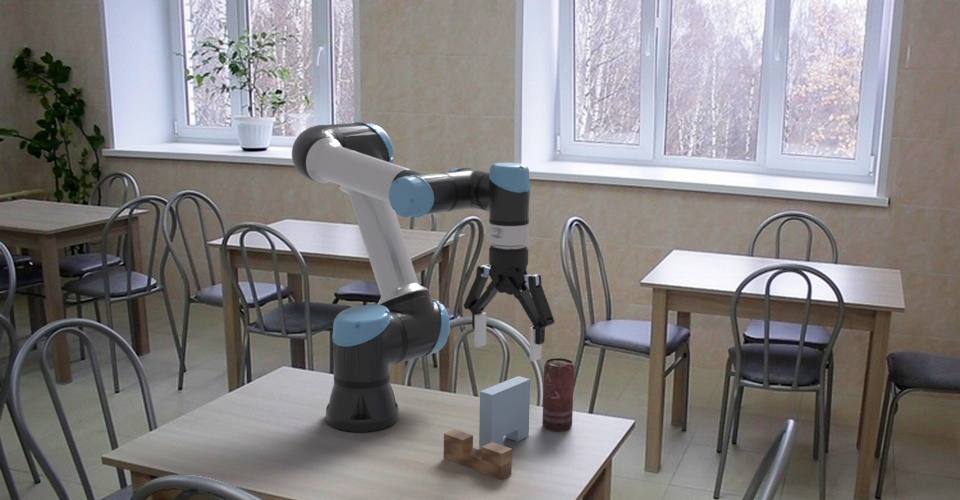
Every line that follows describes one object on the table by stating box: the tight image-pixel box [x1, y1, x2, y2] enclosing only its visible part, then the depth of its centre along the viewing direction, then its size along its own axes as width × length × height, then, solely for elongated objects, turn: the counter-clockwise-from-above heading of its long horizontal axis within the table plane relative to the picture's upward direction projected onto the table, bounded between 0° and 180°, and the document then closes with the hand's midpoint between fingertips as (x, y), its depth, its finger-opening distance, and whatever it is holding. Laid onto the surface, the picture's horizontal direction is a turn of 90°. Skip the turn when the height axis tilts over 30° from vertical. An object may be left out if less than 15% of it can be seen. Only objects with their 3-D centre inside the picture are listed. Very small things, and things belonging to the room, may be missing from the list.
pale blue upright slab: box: [478, 375, 531, 451], centre depth 193 cm, size 3×12×12 cm, turn 140°
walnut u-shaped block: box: [443, 428, 513, 480], centre depth 183 cm, size 14×3×5 cm, turn 50°
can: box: [542, 357, 576, 432], centre depth 201 cm, size 6×6×14 cm
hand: (507, 352), depth 190 cm, fingers open, 13 cm apart
